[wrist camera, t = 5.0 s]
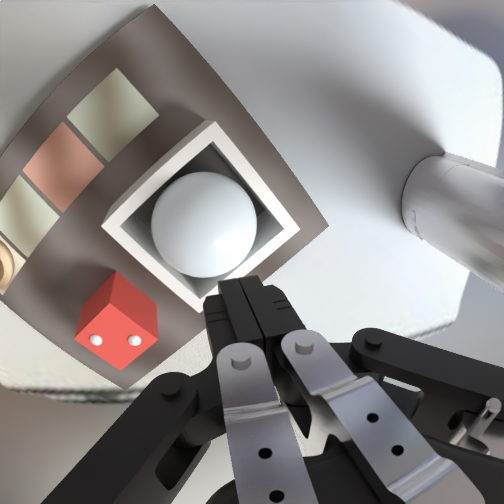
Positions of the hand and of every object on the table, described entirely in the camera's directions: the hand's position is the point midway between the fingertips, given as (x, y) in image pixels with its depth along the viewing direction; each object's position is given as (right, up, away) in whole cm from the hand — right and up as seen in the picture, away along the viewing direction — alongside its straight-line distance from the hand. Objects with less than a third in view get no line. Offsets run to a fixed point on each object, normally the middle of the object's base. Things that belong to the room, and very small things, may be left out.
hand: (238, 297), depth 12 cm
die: (-10, -2, +11) cm, 15 cm away
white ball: (-3, +5, +10) cm, 11 cm away
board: (-9, +4, +10) cm, 15 cm away
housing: (-3, +5, +10) cm, 12 cm away
